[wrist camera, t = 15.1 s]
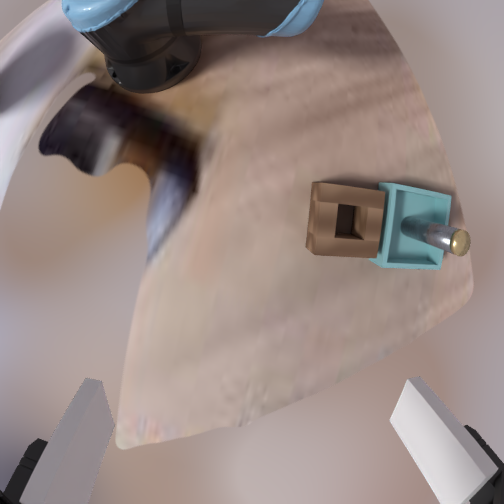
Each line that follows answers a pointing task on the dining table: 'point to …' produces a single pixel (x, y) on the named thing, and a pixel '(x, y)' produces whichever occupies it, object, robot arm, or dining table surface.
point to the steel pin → (436, 235)
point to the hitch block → (363, 226)
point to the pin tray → (391, 238)
